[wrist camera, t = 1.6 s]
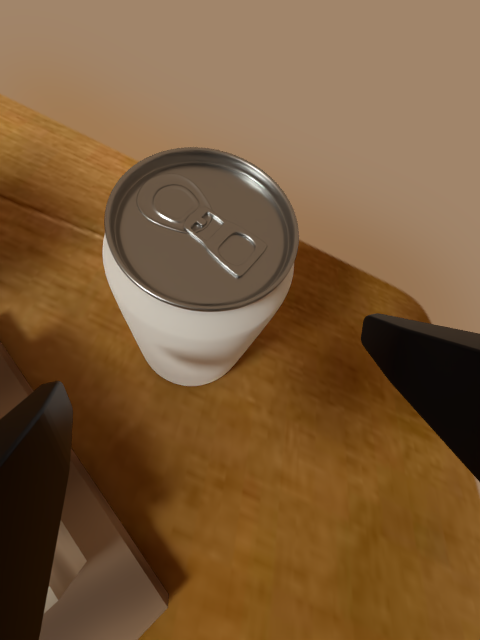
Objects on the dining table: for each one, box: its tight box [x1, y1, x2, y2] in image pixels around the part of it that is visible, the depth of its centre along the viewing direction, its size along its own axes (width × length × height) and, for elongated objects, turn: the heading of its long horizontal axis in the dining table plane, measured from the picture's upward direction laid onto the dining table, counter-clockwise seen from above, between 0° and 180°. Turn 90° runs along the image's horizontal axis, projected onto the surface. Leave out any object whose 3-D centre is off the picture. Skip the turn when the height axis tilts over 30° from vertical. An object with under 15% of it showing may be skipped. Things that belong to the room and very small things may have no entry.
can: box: [103, 147, 299, 386], centre depth 14 cm, size 6×6×12 cm
